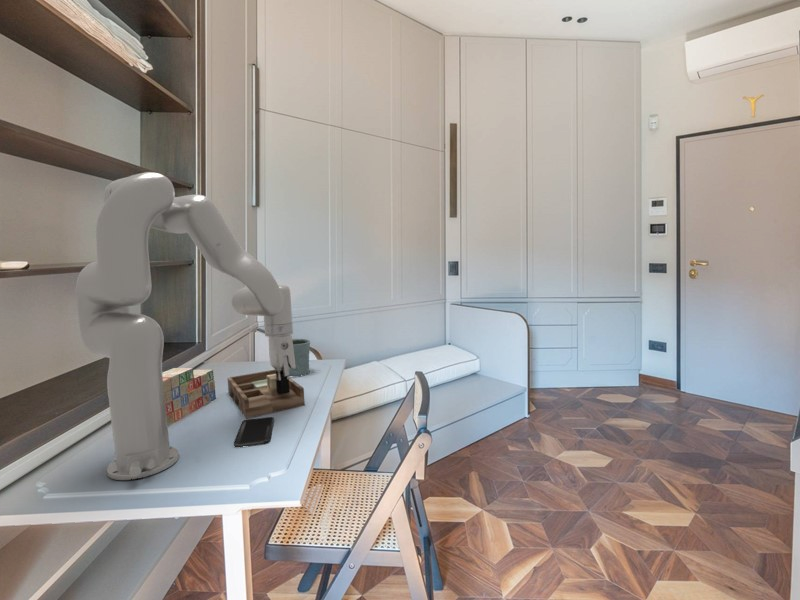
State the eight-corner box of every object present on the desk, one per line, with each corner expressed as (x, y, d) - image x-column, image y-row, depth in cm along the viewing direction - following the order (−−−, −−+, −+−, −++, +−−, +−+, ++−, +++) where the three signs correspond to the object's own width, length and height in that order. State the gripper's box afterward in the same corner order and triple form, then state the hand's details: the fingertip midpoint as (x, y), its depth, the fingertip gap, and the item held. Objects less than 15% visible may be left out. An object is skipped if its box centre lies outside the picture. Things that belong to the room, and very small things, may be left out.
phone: (232, 445, 92) (242, 419, 107) (233, 449, 92) (243, 424, 107) (269, 440, 94) (274, 416, 109) (270, 445, 94) (275, 420, 109)
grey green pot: (288, 370, 157) (286, 339, 156) (314, 369, 156) (312, 338, 155) (279, 378, 147) (277, 344, 146) (307, 377, 146) (305, 343, 145)
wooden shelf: (304, 405, 118) (303, 388, 118) (246, 418, 110) (244, 400, 109) (279, 383, 140) (278, 369, 140) (228, 393, 132) (227, 377, 131)
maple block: (289, 392, 122) (288, 376, 121) (272, 396, 119) (271, 379, 119) (284, 388, 126) (283, 372, 126) (267, 391, 123) (266, 375, 123)
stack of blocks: (197, 398, 128) (194, 359, 127) (216, 399, 127) (213, 359, 126) (144, 427, 107) (139, 380, 106) (166, 427, 106) (161, 380, 105)
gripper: (300, 331, 112) (304, 397, 114) (284, 324, 125) (288, 384, 127) (272, 334, 108) (277, 403, 110) (258, 327, 121) (263, 388, 123)
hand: (283, 392), depth 118 cm, fingers closed
